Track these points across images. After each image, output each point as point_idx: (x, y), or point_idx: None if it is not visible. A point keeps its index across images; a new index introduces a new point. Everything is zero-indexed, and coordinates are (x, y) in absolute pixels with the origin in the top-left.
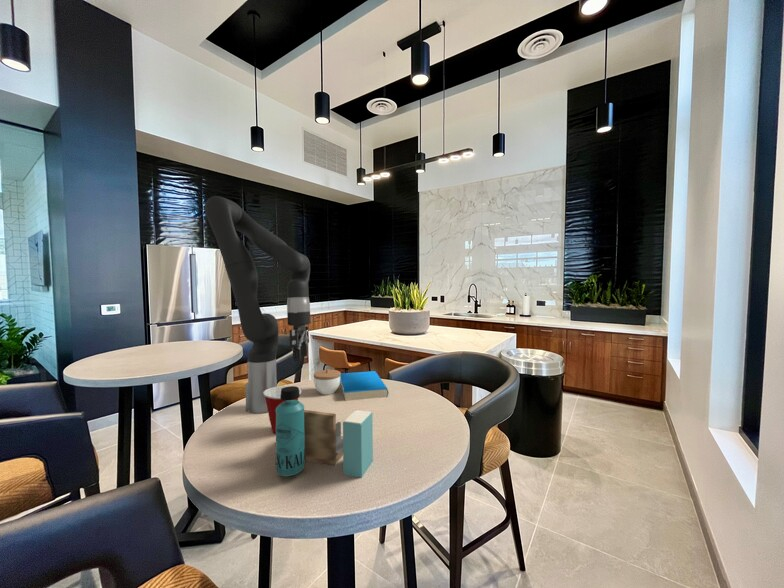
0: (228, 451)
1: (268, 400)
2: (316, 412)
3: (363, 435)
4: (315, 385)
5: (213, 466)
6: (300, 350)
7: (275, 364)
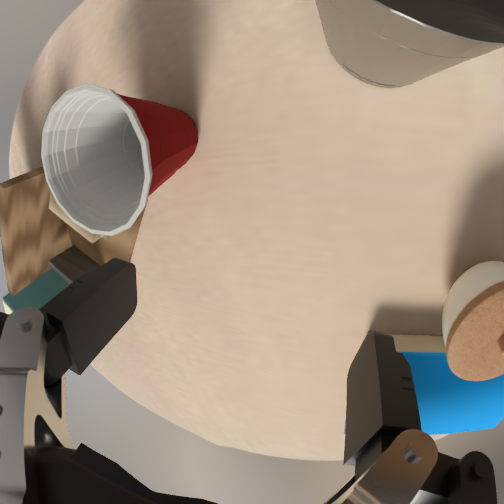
0: (97, 47)
1: (64, 120)
2: (6, 267)
3: None
4: (487, 266)
5: (63, 53)
6: (378, 376)
7: (423, 43)
